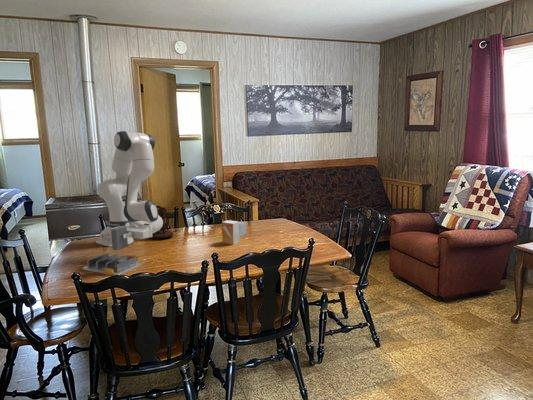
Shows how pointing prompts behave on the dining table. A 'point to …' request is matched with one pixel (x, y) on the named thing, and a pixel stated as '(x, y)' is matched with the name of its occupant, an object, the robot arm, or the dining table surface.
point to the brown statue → (162, 232)
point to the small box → (230, 232)
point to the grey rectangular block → (119, 238)
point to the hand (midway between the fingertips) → (118, 236)
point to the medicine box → (242, 229)
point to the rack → (111, 264)
